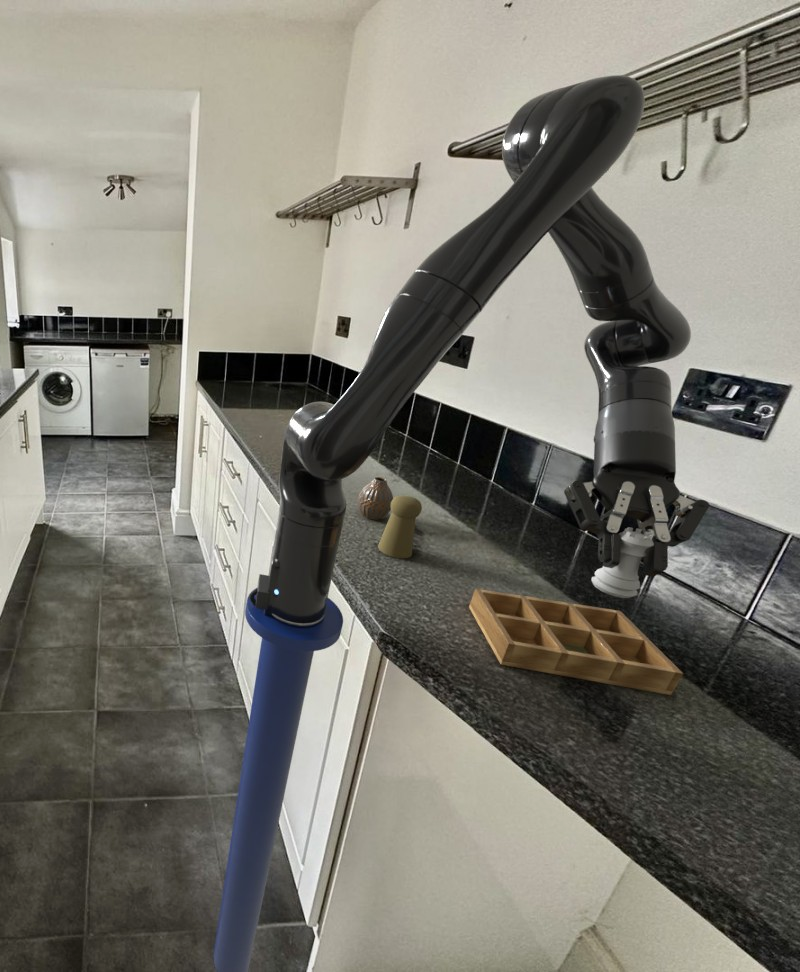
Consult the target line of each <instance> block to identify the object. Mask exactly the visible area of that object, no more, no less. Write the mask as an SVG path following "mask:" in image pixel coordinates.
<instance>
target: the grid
mask: <svg viewBox="0 0 800 972" xmlns="http://www.w3.org/2000/svg"><path fill="white" fill-rule="evenodd" d="M468 609H469V611H470V612H471V614H472V616H473V618H474V619H475V621H476V623H477V624H478V626H479V628H480V630H481V632H482V633H483V635H484V637H485V639H486V641H487V643H488V645H489V646H490V648H491V650H492V652H493V654H494V655H495V657H496V659H497V661H498V662H499V664H500V665H502V666H507V667H513V668H519V669H522V670H523V669H524V670H528V671H529V670H530V671H535V672H541V673H545V674H551V675H557V676H562V677H569V678H574V679H579V680H584V681H591V682H595V683H602V684H607V685H612V686H619V687H622V688H623V687H624V688H630V689H635V690H641V691H645V692H652V693H656V694H662V695H667V696H672V694H673V692H674V691H675V689H676V687H677V686H678V684H679V682H680V681H681V679H682V677H683V675H684V673H683V671H681V669H679V668H678V667H677V666H676V665H675V664H674V663H673V662H672V661H671V659H669V658H668V657H667V656H666V655H665V653H663V652H662V650H660V649H659V647H657V646H656V645H655V644H654V643H653V642H652V641H651V640H650V639H649V638H648V636H647V635H645V634H644V633H643V632H642V631H641V630H640V629H639V628H638V627H637V626H636V625H635V624H634V622H632V620H630V619H629V618H628V617H627V616H626V615H625V614H624V613H623V612H622V611H621V610H619V609H618V610H617V609H616V610H615V609H612V608H611V609H610V608H603V607H596V606H590V605H586V604H585V605H584V604H579V603H572V602H565V601H558V600H553V599H546V598H539V597H533V596H528V595H527V596H526V595H519V594H512V593H506V592H499V591H493V590H486V589H480V588H474V591H473V594H472V597H471V599H470V603H469V606H468Z"/></svg>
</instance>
